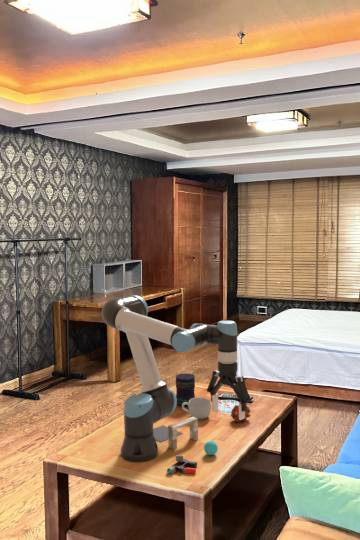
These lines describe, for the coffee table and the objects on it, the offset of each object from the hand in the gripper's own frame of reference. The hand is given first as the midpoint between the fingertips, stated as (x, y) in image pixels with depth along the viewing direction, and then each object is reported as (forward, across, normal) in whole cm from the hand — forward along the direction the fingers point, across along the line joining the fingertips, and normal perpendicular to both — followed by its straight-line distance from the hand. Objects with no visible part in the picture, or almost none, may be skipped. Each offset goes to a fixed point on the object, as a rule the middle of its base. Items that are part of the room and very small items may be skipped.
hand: (228, 414), depth 209 cm
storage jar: (+19, +58, -33) cm, 69 cm away
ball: (+16, +9, 0) cm, 18 cm away
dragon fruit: (+19, +24, -36) cm, 47 cm away
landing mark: (+19, +39, 0) cm, 43 cm away
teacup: (+19, +42, -25) cm, 52 cm away
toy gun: (+19, +7, +18) cm, 27 cm away
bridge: (+19, +25, 0) cm, 31 cm away
